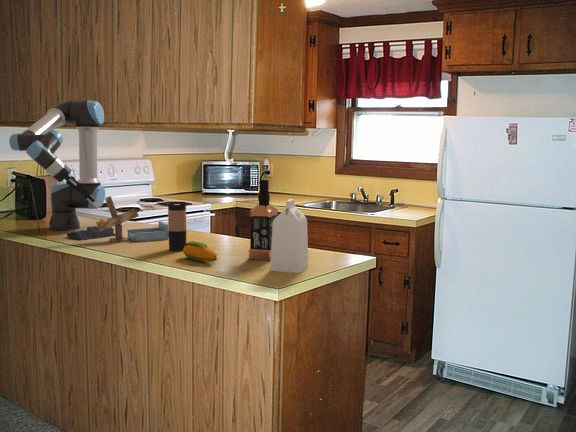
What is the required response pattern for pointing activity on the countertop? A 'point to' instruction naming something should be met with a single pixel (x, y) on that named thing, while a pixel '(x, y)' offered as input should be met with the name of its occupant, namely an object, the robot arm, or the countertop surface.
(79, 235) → the dark slate chunk
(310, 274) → the countertop surface
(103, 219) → the ball
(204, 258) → the corn
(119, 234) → the fulcrum
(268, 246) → the whiskey bottle
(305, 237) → the milk
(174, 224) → the travel mug
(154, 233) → the bin
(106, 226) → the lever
